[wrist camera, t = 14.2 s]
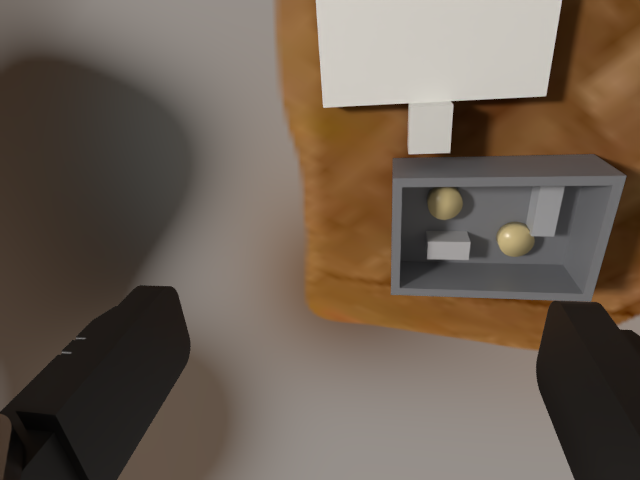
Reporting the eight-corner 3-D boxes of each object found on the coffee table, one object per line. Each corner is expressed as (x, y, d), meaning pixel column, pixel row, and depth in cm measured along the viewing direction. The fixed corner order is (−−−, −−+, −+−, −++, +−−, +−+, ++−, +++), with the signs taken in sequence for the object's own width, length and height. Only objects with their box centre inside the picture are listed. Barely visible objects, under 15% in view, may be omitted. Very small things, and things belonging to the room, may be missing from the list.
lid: (316, -59, 33) (307, -68, 30) (566, -89, 30) (588, -104, 27) (329, 145, 41) (323, 156, 37) (530, 138, 38) (544, 150, 34)
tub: (392, 158, 41) (392, 178, 35) (594, 154, 38) (626, 175, 32) (391, 263, 46) (391, 294, 41) (566, 267, 43) (590, 301, 38)
